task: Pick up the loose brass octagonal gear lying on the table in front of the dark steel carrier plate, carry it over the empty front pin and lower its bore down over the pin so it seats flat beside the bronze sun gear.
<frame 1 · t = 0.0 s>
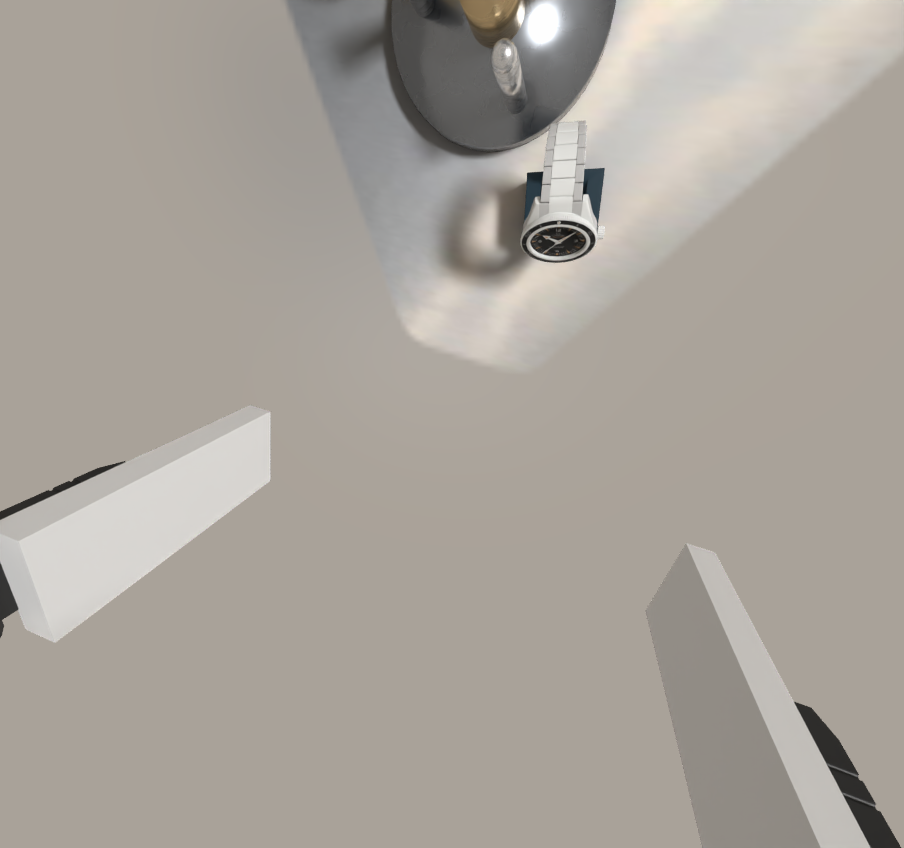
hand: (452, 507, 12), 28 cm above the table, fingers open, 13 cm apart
watch: (562, 210, 33), on the table
carrier: (499, 23, 29), on the table
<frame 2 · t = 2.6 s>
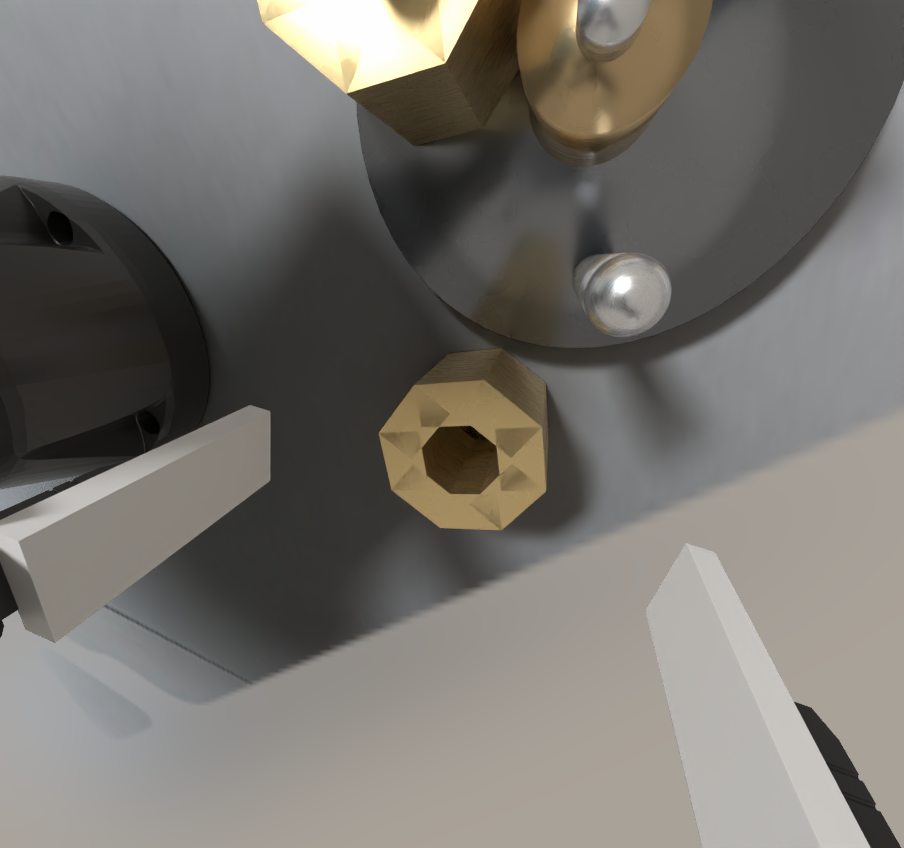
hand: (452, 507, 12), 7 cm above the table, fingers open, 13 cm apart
carrier: (590, 107, 13), on the table
planet gear: (483, 412, 19), on the table
planet gear b: (434, 25, 12), resting on carrier
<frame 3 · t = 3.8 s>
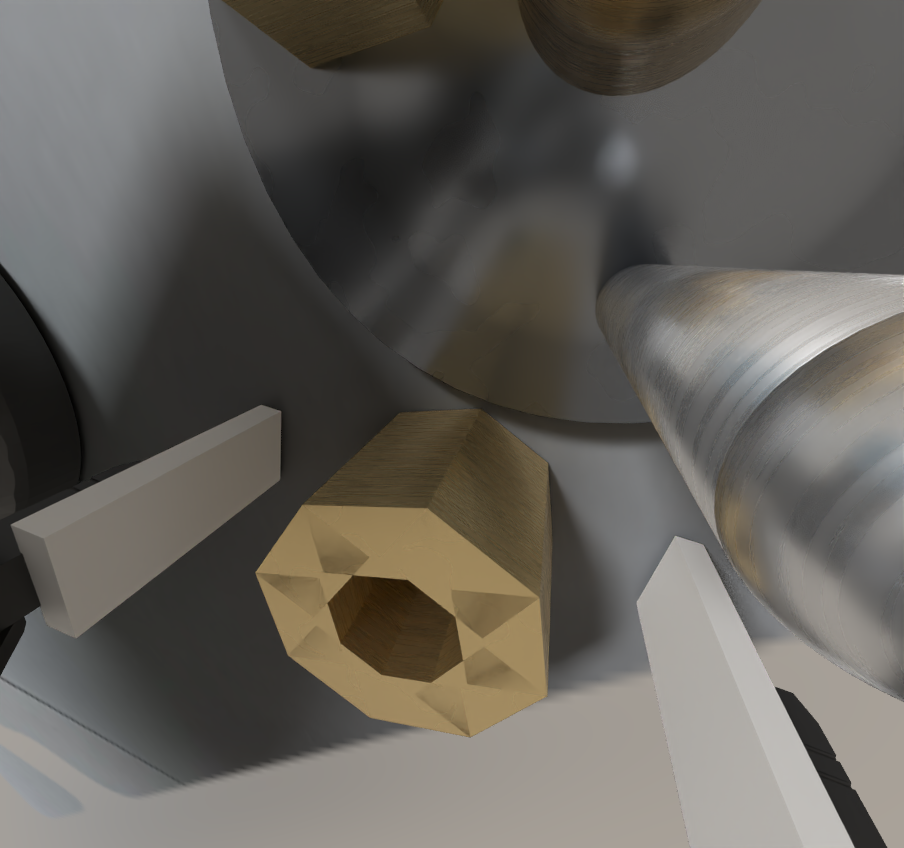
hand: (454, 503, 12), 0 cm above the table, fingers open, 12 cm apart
planet gear: (453, 498, 12), on the table
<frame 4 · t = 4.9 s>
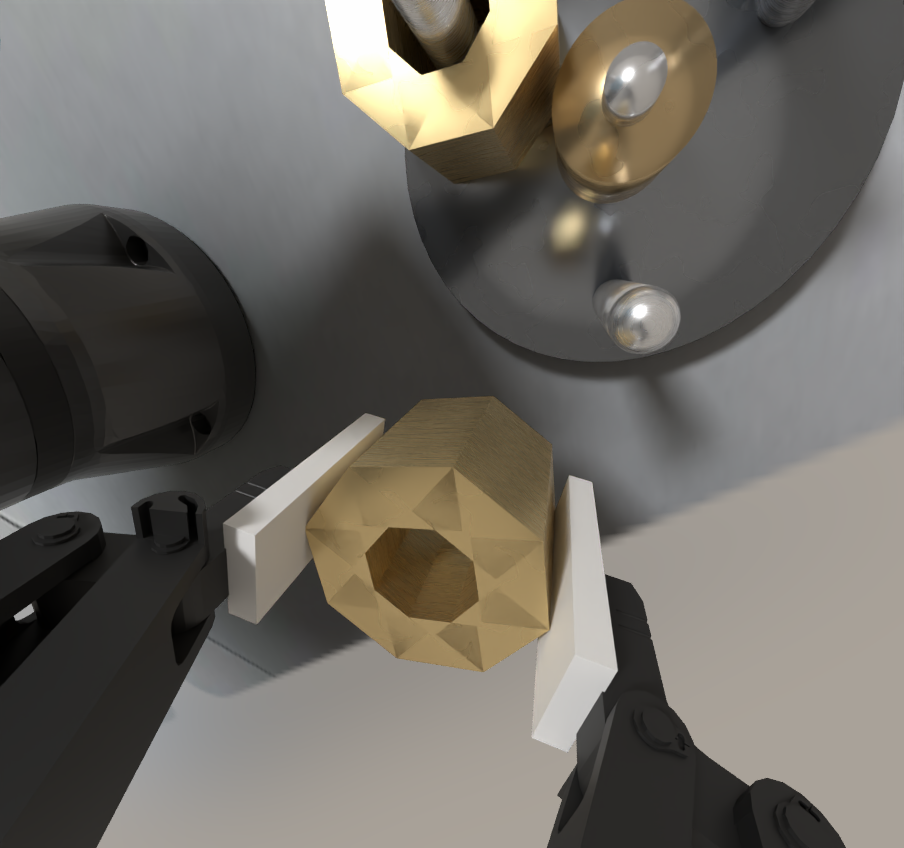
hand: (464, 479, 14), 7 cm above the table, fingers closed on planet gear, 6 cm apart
carrier: (610, 151, 15), on the table
planet gear: (467, 477, 14), point 7 cm above the table, touching gripper
planet gear b: (475, 84, 14), resting on carrier
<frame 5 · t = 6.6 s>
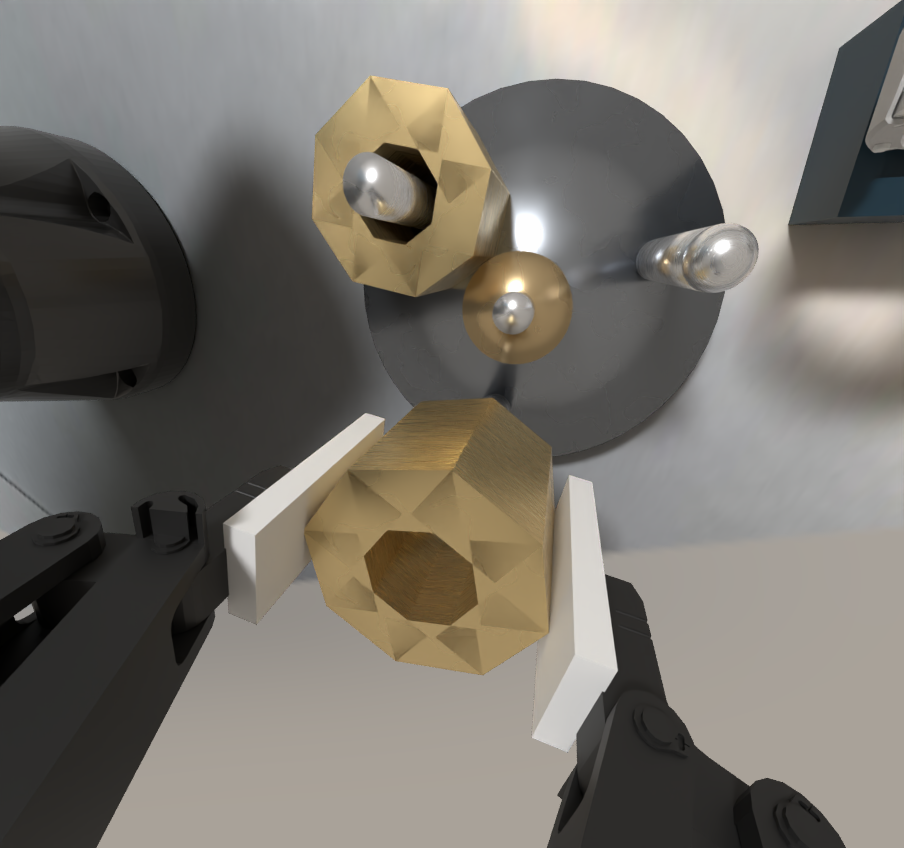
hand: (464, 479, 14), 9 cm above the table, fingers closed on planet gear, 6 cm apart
watch: (882, 137, 14), on the table
carrier: (527, 297, 19), on the table
planet gear: (466, 479, 14), point 8 cm above the table, touching gripper
planet gear b: (437, 212, 17), resting on carrier
when the fingers open (3 cm above the table, at t = 8.5 s): planet gear drops 1 cm, resting on carrier.
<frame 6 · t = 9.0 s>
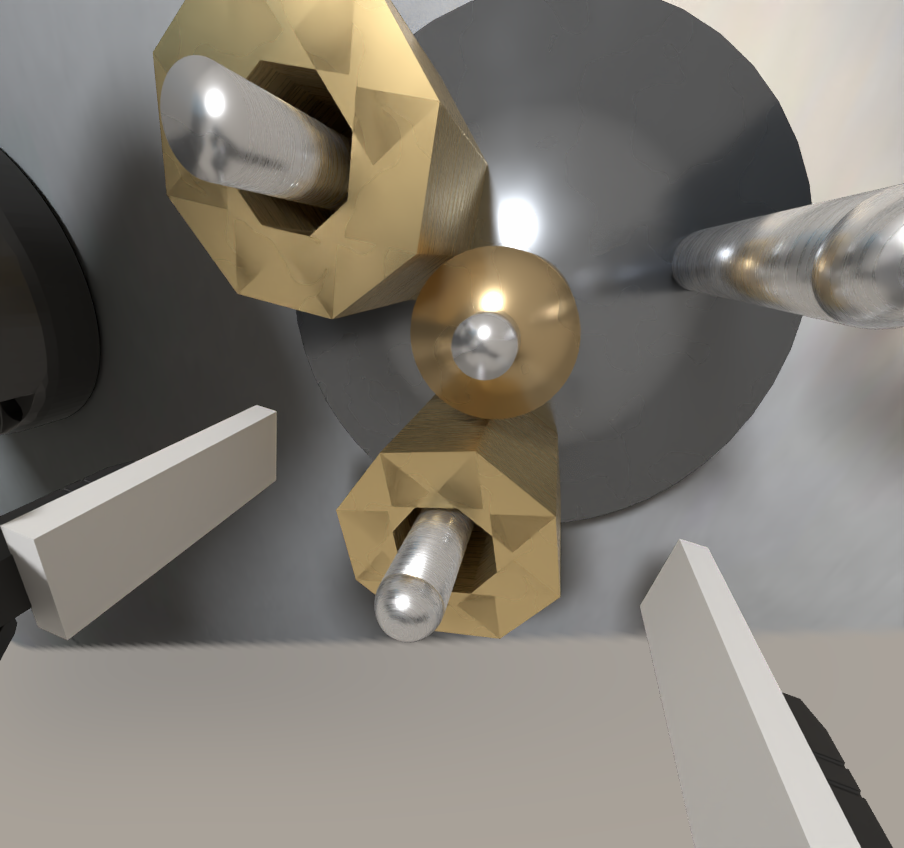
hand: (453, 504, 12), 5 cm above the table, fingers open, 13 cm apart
carrier: (515, 312, 14), on the table
planet gear: (478, 465, 15), point 1 cm above the table, touching carrier
planet gear b: (386, 193, 12), resting on carrier
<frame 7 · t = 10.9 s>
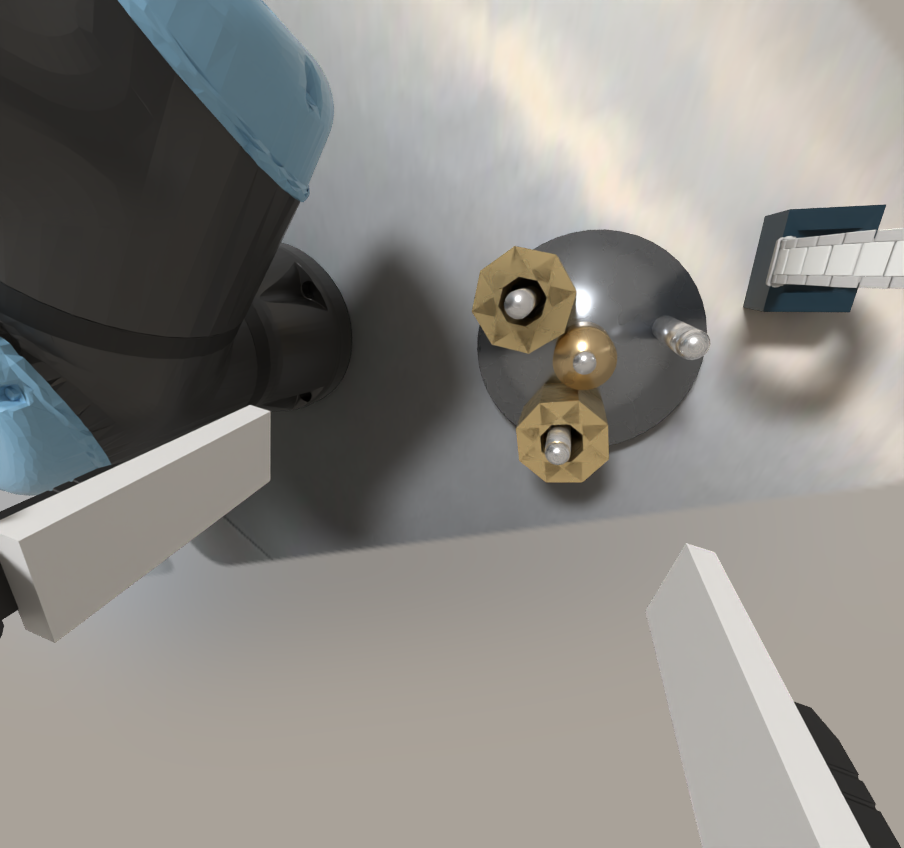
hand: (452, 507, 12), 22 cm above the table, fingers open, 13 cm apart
watch: (793, 262, 25), on the table
carrier: (582, 345, 30), on the table
planet gear: (563, 418, 31), point 1 cm above the table, touching carrier
planet gear b: (529, 297, 29), resting on carrier
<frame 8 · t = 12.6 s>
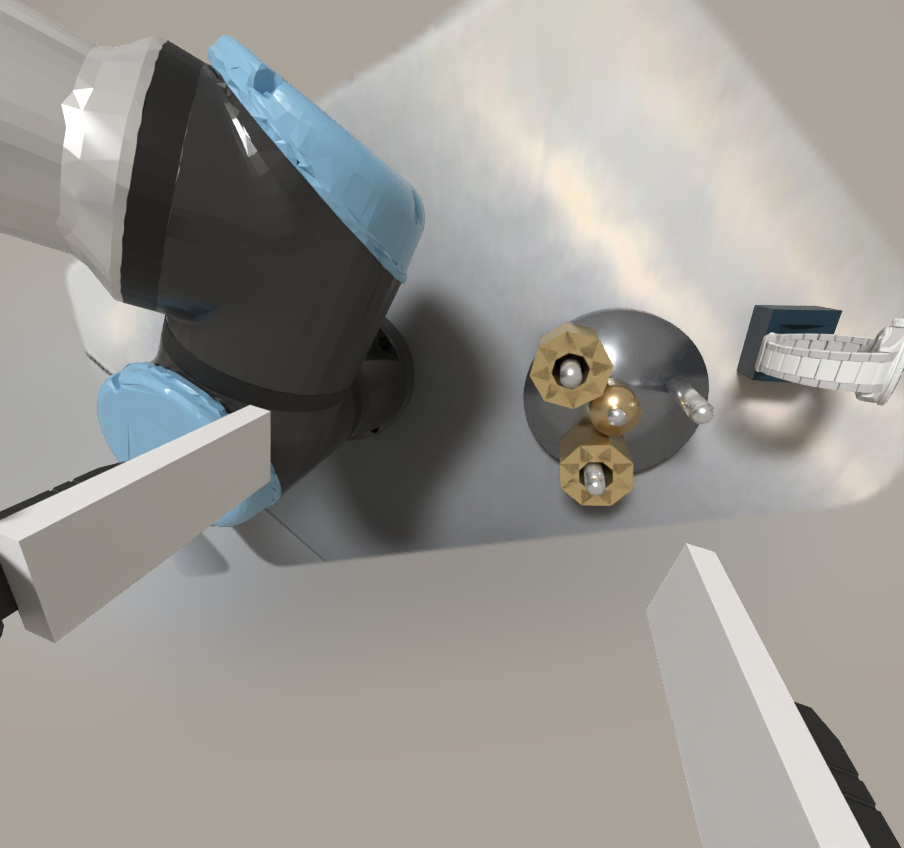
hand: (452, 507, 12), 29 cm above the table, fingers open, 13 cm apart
watch: (775, 338, 33), on the table
carrier: (608, 394, 38), on the table
planet gear: (591, 451, 39), point 1 cm above the table, touching carrier
planet gear b: (569, 357, 36), resting on carrier
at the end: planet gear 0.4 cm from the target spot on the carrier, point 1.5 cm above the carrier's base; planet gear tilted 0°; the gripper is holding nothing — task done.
